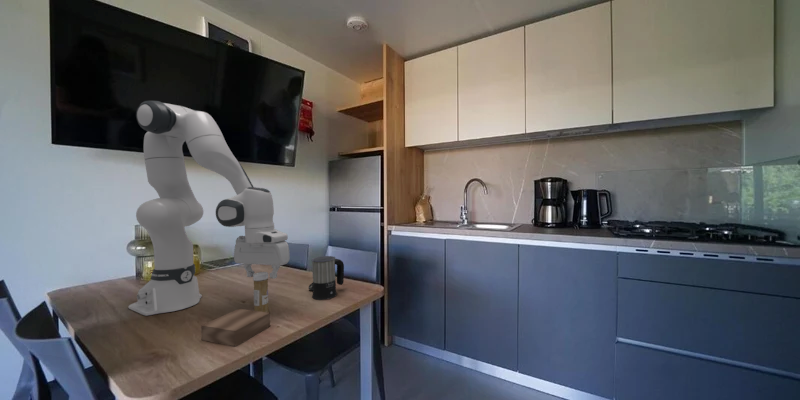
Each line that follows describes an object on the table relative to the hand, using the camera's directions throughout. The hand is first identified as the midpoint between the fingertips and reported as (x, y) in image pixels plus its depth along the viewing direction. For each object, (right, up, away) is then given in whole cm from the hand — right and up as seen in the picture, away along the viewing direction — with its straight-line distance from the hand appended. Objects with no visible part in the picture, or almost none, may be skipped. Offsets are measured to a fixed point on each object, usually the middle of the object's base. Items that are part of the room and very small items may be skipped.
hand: (261, 277), depth 94 cm
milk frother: (+14, -12, +20) cm, 27 cm away
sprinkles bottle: (0, -12, 0) cm, 12 cm away
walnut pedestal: (0, -12, -13) cm, 18 cm away
